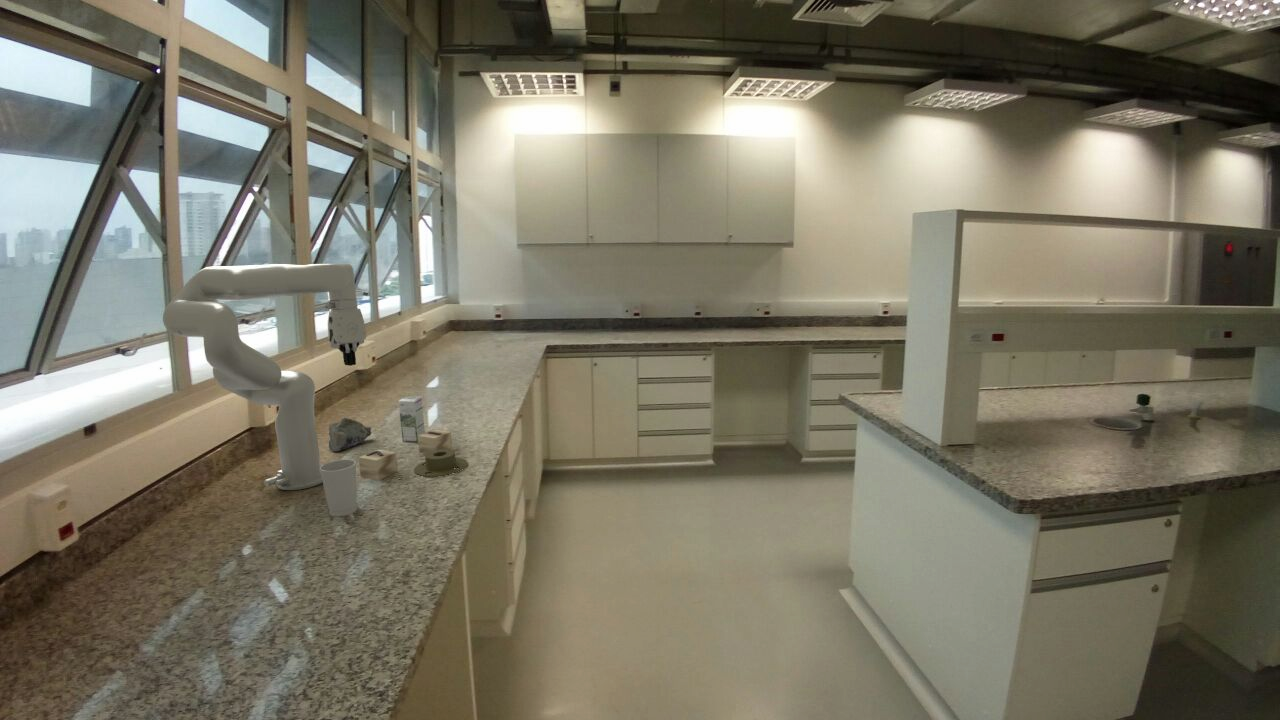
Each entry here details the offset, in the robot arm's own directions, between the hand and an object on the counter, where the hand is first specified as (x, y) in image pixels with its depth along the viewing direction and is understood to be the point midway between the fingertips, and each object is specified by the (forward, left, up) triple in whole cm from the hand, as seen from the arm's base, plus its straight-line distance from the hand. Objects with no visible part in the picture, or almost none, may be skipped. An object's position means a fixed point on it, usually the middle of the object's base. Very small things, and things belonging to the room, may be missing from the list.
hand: (350, 364), depth 181 cm
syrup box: (+18, -4, -29) cm, 35 cm away
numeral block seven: (-9, -19, -29) cm, 36 cm away
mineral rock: (+5, +10, -29) cm, 31 cm away
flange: (+2, -32, -30) cm, 44 cm away
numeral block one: (+12, -20, -29) cm, 37 cm away
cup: (-30, -31, -29) cm, 52 cm away
